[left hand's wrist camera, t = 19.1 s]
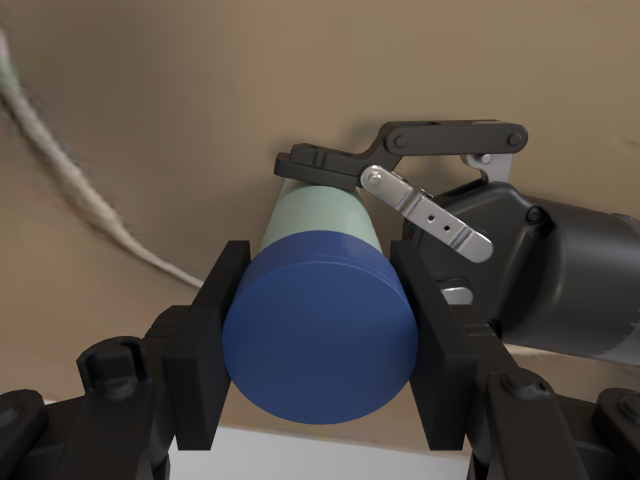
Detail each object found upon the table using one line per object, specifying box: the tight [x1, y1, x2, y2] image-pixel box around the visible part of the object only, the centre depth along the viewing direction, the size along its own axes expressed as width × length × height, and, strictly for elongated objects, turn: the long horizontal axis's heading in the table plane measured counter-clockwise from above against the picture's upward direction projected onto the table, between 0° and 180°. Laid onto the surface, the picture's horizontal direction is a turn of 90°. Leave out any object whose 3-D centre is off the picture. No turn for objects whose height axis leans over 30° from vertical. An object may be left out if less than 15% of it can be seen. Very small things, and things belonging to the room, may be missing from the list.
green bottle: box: [257, 178, 383, 255], centre depth 18 cm, size 5×5×15 cm
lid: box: [222, 230, 419, 425], centre depth 11 cm, size 5×5×2 cm
